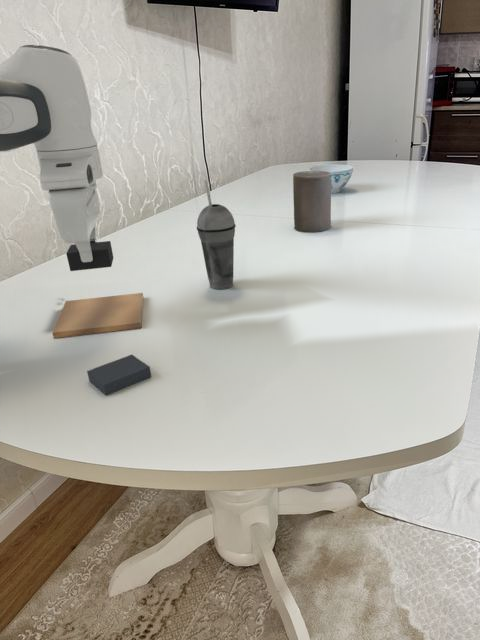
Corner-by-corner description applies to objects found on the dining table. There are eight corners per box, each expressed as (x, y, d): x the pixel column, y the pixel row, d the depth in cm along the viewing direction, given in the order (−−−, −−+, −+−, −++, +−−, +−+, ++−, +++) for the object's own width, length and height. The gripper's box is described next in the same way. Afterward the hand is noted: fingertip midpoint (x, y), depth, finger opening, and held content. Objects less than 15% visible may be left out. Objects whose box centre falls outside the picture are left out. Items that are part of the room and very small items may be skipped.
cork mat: (53, 338, 85) (52, 332, 84) (66, 306, 97) (65, 300, 96) (141, 328, 86) (140, 322, 86) (143, 297, 99) (142, 292, 98)
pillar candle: (290, 232, 135) (288, 171, 128) (298, 222, 143) (297, 165, 136) (327, 233, 132) (327, 171, 125) (334, 223, 140) (335, 164, 134)
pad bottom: (70, 271, 85) (66, 253, 83) (74, 262, 89) (70, 244, 88) (111, 266, 86) (107, 249, 84) (113, 257, 90) (110, 240, 89)
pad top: (107, 405, 66) (103, 385, 65) (91, 390, 69) (86, 370, 68) (153, 386, 70) (149, 366, 68) (135, 373, 73) (131, 354, 72)
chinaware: (329, 185, 188) (329, 163, 185) (361, 190, 178) (362, 166, 174) (299, 192, 180) (298, 169, 176) (331, 198, 169) (331, 173, 166)
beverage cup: (245, 287, 101) (237, 180, 91) (208, 294, 98) (197, 184, 89) (233, 276, 107) (224, 174, 97) (198, 282, 104) (186, 178, 95)
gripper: (61, 160, 89) (78, 240, 95) (36, 180, 71) (60, 277, 77) (99, 157, 90) (114, 236, 96) (84, 176, 72) (104, 272, 78)
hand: (90, 255), depth 87 cm, fingers closed on pad bottom, 5 cm apart
